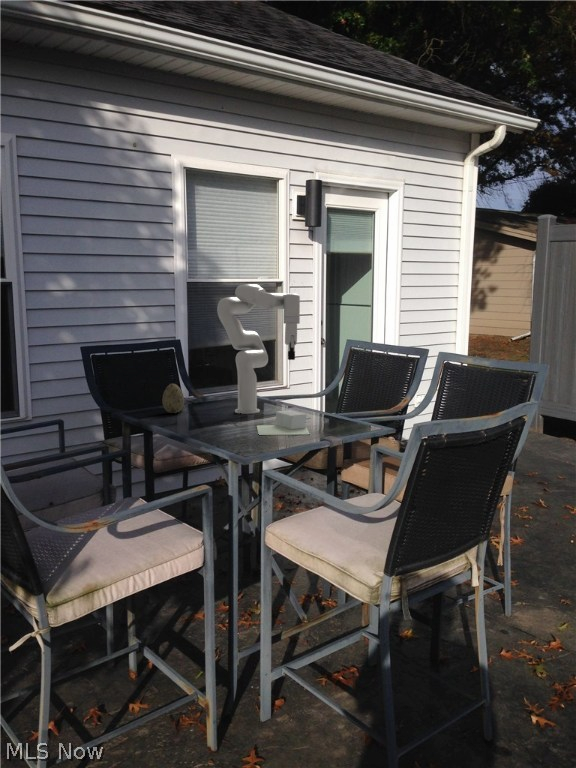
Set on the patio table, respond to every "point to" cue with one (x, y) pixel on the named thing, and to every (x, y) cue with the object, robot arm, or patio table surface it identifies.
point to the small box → (291, 419)
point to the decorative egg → (173, 399)
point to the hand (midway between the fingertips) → (291, 359)
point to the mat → (280, 430)
